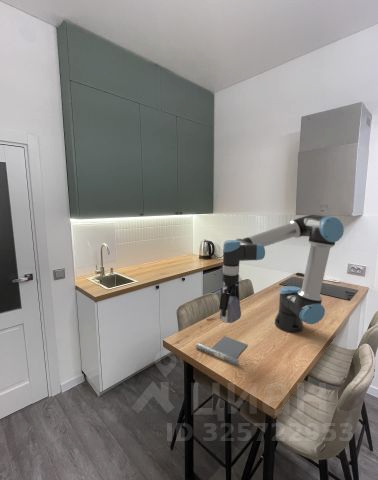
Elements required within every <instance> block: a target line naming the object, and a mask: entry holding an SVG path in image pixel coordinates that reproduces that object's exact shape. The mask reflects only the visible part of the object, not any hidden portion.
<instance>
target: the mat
mask: <svg viewBox="0 0 378 480" xmlns="http://www.w3.org/2000/svg"><path fill="white" fill-rule="evenodd" d="M247 346H248V344H247V343H244V342H242V341H239V340H236V339H235V338H231V337H228V336H227V335H226V336H225V335H224V336H222V337H221V339H219V340H218V341H217V342H216V343H215V344H214V345H213V346H212V347H210V348H211V349H214V350H216V351H218V352H221V353H223V354H226V355H228V356H231V357H233V358H235V359H238V357H239V356H240V355H241V353H242V352H243V351H244V350H245V349H246V347H247Z"/></svg>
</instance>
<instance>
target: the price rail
mask: <svg viewBox="0 0 378 480" xmlns="http://www.w3.org/2000/svg"><path fill="white" fill-rule="evenodd" d="M195 348H196V349H198V350H200V351H202V352H204V353H207V354H209V355H212V357H213V356H214V357H215V358H218V359H220V360H223V361H225V362H227V363H230V364H232V365H234V366H236V367H237V366H239V363H240V360H239V359H238V358H236V359H235V358H233V357H231V356H228V355H226V354H223V353H221V352H218V351H216V350H214V349H211V348H212V347H208V346H206V345H204V344H201V343H199V342H197V343H196V344H195Z"/></svg>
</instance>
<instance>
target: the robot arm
mask: <svg viewBox="0 0 378 480" xmlns="http://www.w3.org/2000/svg"><path fill="white" fill-rule="evenodd" d="M344 231H345V228H344V225H343V223H342V221H341V220H340V219H339V218H337V217H335V216H330V215H320V214H319V215H318V214H309V215H304V216H301V217H299V218H295V219H294V220H290V221H289V223H286V224H284V225H282V226H281V225H279V226H277V227H275V228H271V229H269V230H266V231H262V232H260V233H257V234H253V235H251V236H248V237H244V238H235V239H228V240H225V241H224V242H223V247H222V248H223V249H222V279H221V280H222V282H223V283H224V287H221V288H220V299H219V307H218V309H219V310H220V311H221V310H222V319H221V323H224V324H228V323H227V322H228V310H227V307H228V302H229V298H230V296H237V297H238V298H239V299H240V288H239V287H240V286H239V284H240V279H239V278H240V262H246V261H261V260H263V259H264V258H265V257H266V249H265V247H267V246H271V245H273V244H276V243H279V242H283V241H285V240H289V239H292V238H295V239H298V238H300V237H308V242H309V245H310V248H309V254H308V256H307V257H308V258H307V261H306V268H305V271H304V275H303V281H302V286H301V287H298V286H293V285H286V286H285V285H284V286H282V287H281V288H280V290H279V304H278V312H277V314H276V316H275V319H274V326H276V328H278V329H279V330H282V331H285V332H288V333H299V332H302V331H303V329H304V323H306V324H308V325H315V324H318V323H319V322H321V320H323V318H324V317H325V313H326V310H325V308H324V306H323V305H322V301H323V297H322V296H321V290H322V285H323V282H324V277H325V273H326V268H327V264H328V259H329V255H330V250H331V248H333V247H335V244H336V242H338V241H340V239H342V237H343V236H344ZM303 322H304V323H303Z"/></svg>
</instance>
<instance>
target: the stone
mask: <svg viewBox="0 0 378 480" xmlns="http://www.w3.org/2000/svg"><path fill="white" fill-rule="evenodd" d="M240 301H241V300H240V297H239V298H238V297H237V296H230V298H229V302H228V307H227V310H228V322H227V323H226V324H233V323H235V322H237V321H238V320H239V319H240V318H241V317H242V312H241V311H242V310H241V305H240V303H241V302H240ZM219 319H220V320H222V310H221V309H220V313H219Z"/></svg>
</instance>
